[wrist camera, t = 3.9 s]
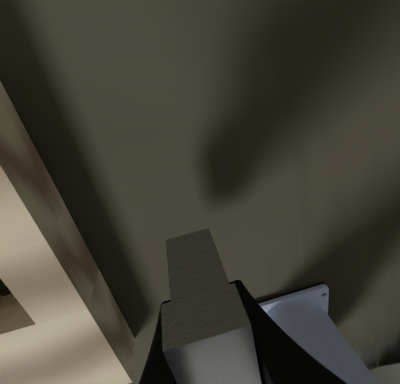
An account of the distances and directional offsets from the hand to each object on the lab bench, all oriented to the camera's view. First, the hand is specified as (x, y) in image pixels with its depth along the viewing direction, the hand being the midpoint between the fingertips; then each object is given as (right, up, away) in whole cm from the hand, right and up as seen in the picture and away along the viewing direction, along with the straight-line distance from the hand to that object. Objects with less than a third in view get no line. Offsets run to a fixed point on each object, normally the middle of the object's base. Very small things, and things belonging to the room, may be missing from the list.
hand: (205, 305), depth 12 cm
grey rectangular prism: (-1, +1, +3) cm, 3 cm away
